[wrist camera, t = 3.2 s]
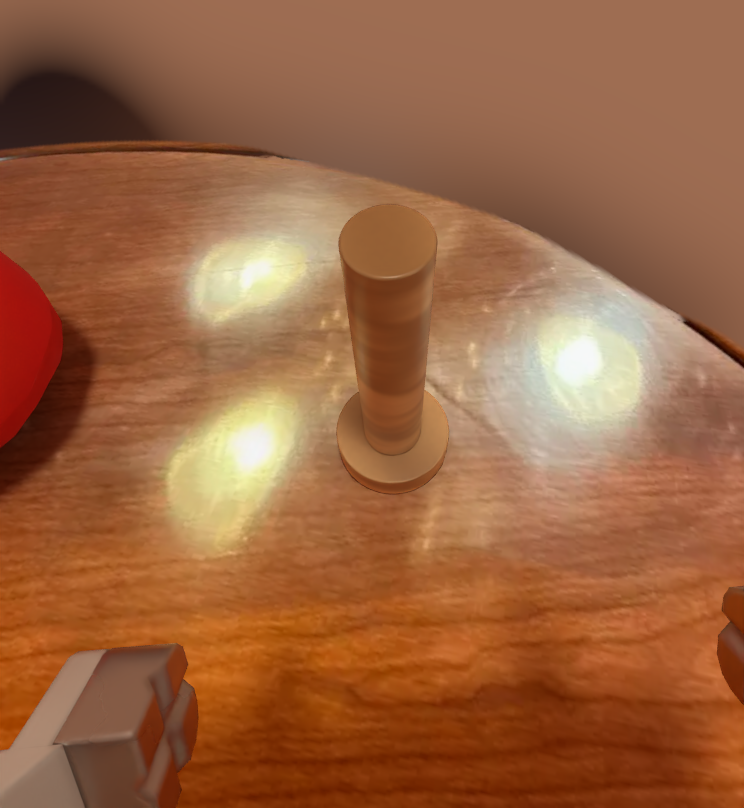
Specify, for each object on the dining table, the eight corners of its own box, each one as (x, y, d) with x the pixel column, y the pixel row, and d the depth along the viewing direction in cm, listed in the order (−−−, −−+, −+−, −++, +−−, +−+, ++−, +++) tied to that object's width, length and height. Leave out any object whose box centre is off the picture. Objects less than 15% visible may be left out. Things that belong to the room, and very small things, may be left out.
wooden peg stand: (396, 376, 29) (394, 142, 16) (468, 446, 27) (530, 242, 14) (317, 438, 27) (249, 236, 15) (388, 517, 26) (378, 360, 13)
